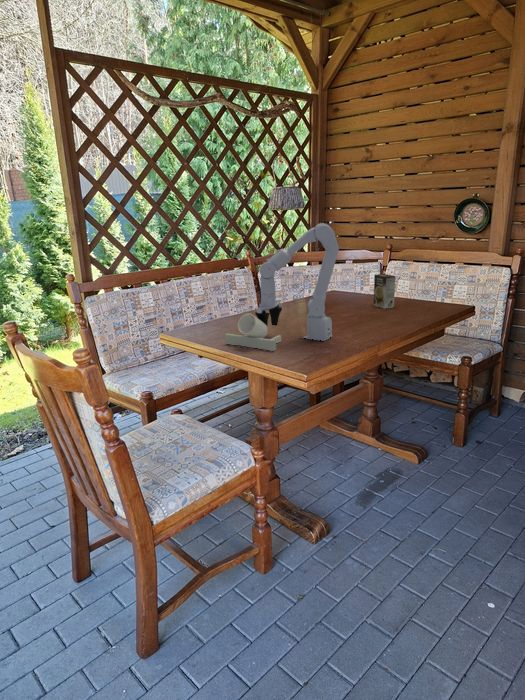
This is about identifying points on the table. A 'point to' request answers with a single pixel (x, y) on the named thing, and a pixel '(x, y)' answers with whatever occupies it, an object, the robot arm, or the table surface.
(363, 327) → the table surface
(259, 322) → the white cup
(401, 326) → the table surface
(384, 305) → the coffee box
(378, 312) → the table surface
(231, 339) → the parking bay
